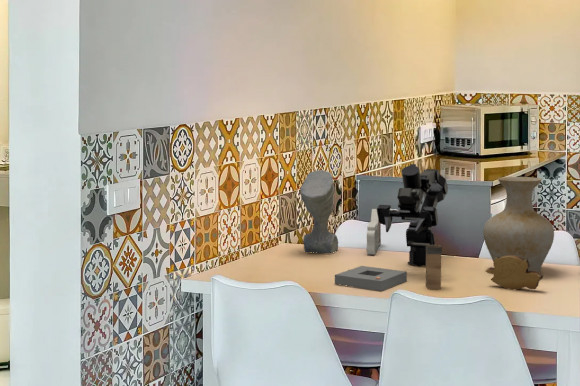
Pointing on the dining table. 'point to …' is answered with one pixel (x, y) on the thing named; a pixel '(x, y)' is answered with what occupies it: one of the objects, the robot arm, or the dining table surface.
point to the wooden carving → (514, 273)
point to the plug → (433, 266)
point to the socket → (371, 278)
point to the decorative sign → (373, 233)
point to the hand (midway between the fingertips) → (401, 232)
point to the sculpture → (319, 211)
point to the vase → (519, 225)
